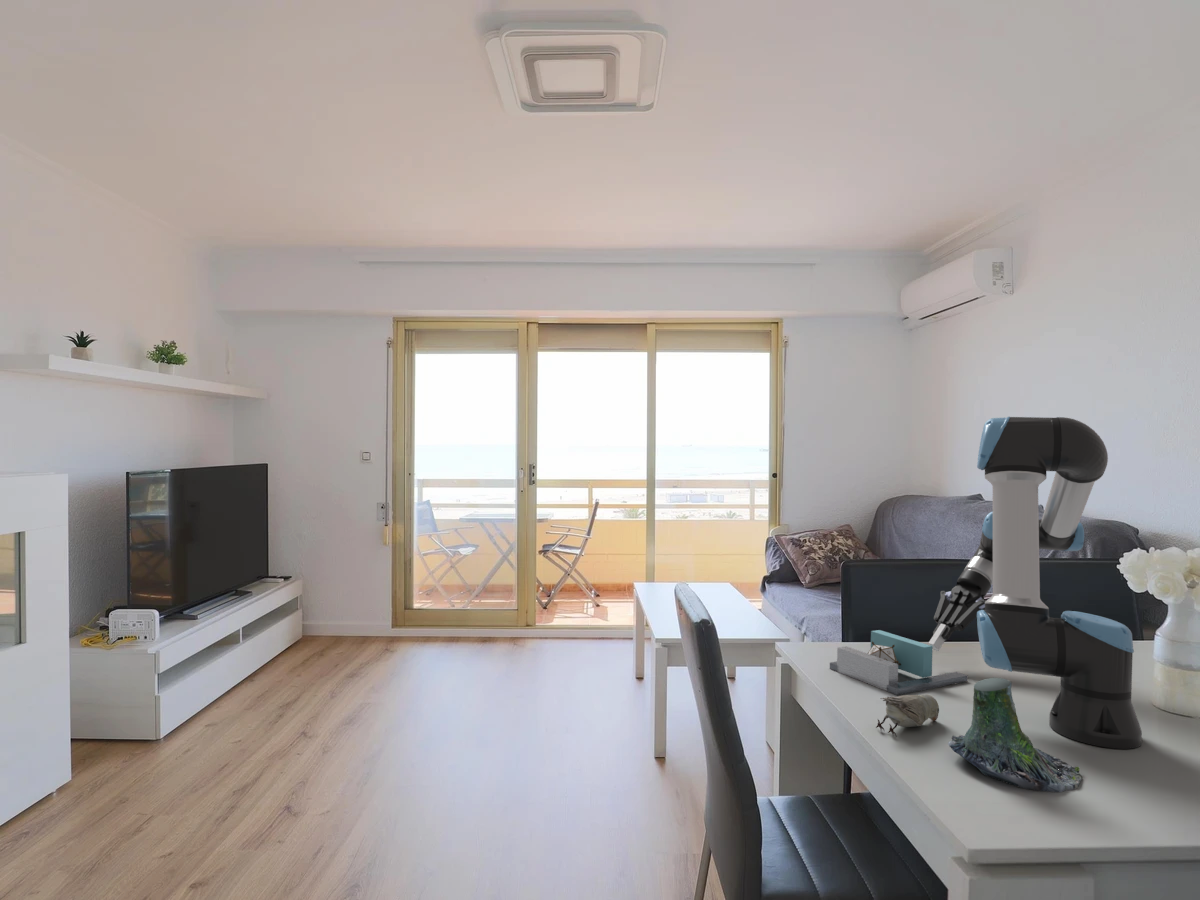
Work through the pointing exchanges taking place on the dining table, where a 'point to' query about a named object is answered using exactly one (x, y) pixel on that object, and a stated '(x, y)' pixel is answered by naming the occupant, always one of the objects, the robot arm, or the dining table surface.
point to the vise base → (886, 673)
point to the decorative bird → (910, 710)
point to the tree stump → (1009, 744)
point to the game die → (884, 653)
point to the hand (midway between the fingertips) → (933, 646)
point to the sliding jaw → (907, 652)
